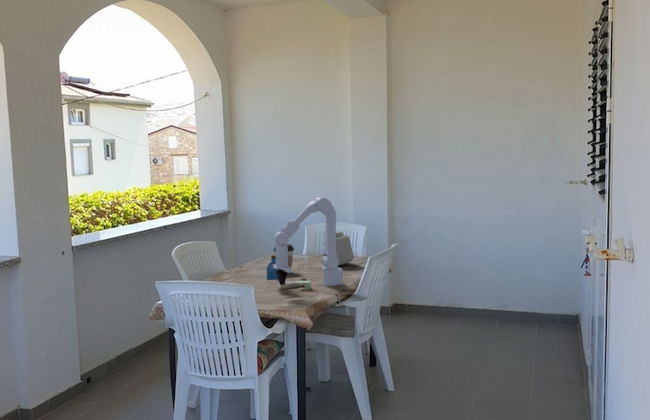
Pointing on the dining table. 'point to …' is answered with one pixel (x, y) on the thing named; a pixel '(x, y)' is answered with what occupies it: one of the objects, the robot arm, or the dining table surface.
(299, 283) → the keeper
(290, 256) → the coffee cup
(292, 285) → the link
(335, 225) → the robot arm
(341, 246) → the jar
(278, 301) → the dining table surface
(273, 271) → the perfume bottle
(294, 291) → the board
